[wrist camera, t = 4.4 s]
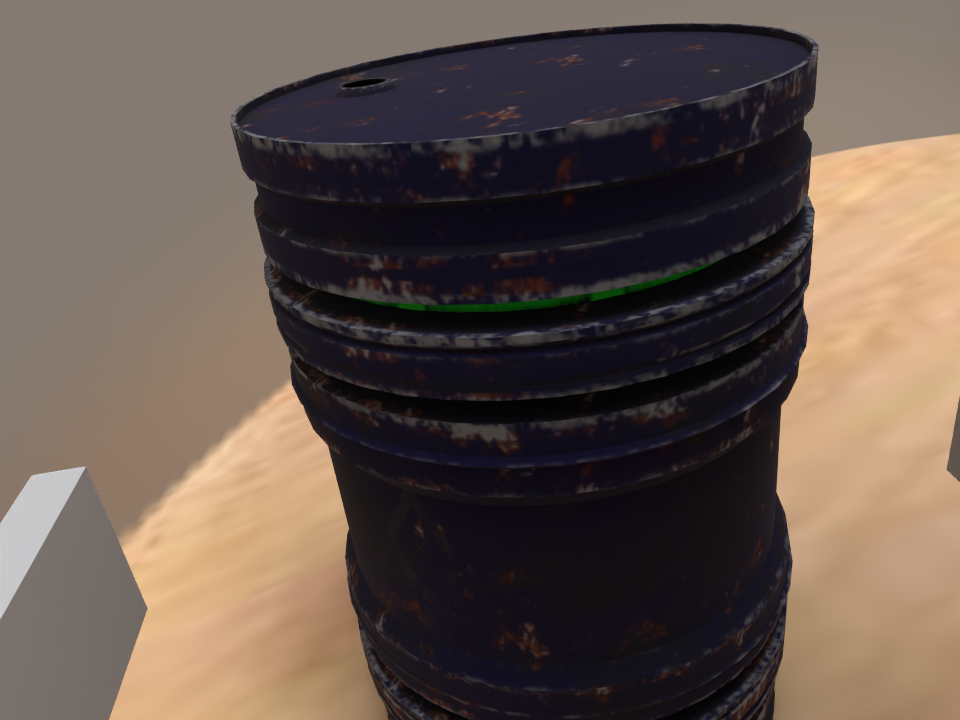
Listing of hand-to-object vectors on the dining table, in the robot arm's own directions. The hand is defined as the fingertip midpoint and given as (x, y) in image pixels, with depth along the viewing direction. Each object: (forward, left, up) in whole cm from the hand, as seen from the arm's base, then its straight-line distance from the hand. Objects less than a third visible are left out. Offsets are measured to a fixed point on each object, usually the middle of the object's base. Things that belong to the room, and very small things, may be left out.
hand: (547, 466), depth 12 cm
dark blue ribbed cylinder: (-4, -2, -10) cm, 11 cm away
